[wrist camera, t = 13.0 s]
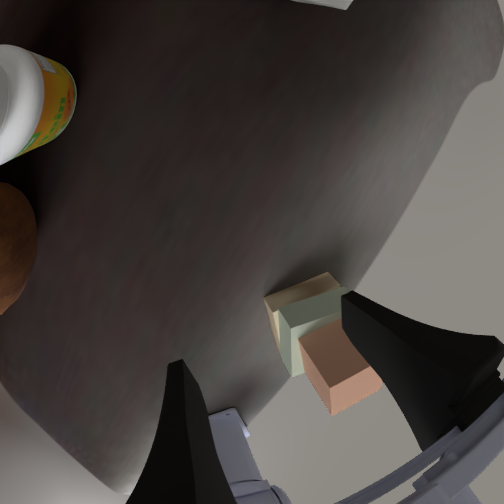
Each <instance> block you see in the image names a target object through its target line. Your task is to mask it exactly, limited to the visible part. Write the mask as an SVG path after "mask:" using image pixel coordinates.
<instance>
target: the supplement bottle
mask: <svg viewBox="0 0 504 504" xmlns="http://www.w3.org/2000/svg"><path fill="white" fill-rule="evenodd" d="M76 98H77V92H76V85H75V82H74V79H73V77H72V75H71V74H70V72H69V71H68V70H67V69H66V68H65V67H64V66H63V65H61V64H59V63H58V62H55V61H53V60H51V59H48V58H46V57H43V56H41V55H38V54H36V53H33V52H30V51H28V50H25V49H23V48H20V47H17V46H12V45H0V165H2V164H4V163H6V162H8V161H10V160H12V159H13V158H15V157H17V156H20V155H22V154H24V153H26V152H28V151H30V150H32V149H35V148H37V147H39V146H42V145H44V144H46V143H48V142H50V141H51V140H53V139H54V138H56V137H57V136H58V135H59V134H60V133H61V132H62V131H63V130H64V129H65V127H66V126H67V125H68V123H69V121H70V119H71V117H72V115H73V113H74V110H75V105H76Z"/></svg>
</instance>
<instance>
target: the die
mask: <svg viewBox="0 0 504 504" xmlns="http://www.w3.org/2000/svg"><path fill="white" fill-rule="evenodd" d="M292 1H296V2H302V3H309V4H316V5H322V6H328V7H333V8H338V9H343V10H346V9H347V8H348V7H349V5H350V4H351V3H352V1H353V0H292Z"/></svg>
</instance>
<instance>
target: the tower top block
mask: <svg viewBox="0 0 504 504" xmlns="http://www.w3.org/2000/svg"><path fill="white" fill-rule="evenodd" d="M348 292H350V291H349V290H348V289H347V288H346V287H345V286H343V287H340V288H337V289H334V290H331V291H328V292H325V293H322V294H319V295H316V296H313V297H310V298H307V299H304V300H301V301H298V302H295V303H291V304H288V305H285V306H282V307H279V308H278V321H279V337H280V354H281V359H282V361H283V363H284V365H285V366H286V368H287V370H288V372H289V374H290V375H291V377H292V378H293V377H295V376H298V375H301V374H303V373H305V372H304V367H303V362H302V357H301V352H300V347H299V343H298V339H299V338H301V337H303V336H305V335H307V334H309V333H311V332H314V331H316V330H318V329H320V328H322V327H324V326H326V325H328V324H330V323H332V322H334V321H336V320H338V319H340V318H342V316H341V295H344V294H346V293H348Z"/></svg>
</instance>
